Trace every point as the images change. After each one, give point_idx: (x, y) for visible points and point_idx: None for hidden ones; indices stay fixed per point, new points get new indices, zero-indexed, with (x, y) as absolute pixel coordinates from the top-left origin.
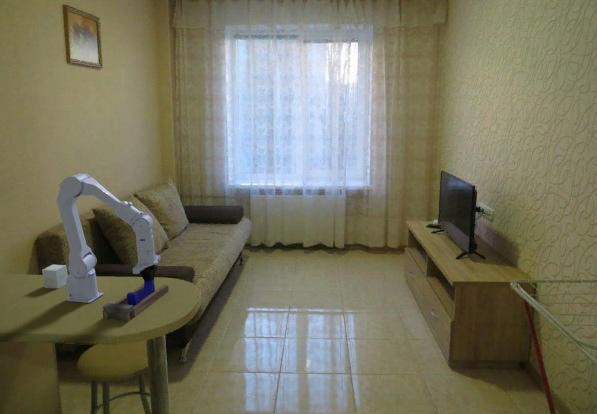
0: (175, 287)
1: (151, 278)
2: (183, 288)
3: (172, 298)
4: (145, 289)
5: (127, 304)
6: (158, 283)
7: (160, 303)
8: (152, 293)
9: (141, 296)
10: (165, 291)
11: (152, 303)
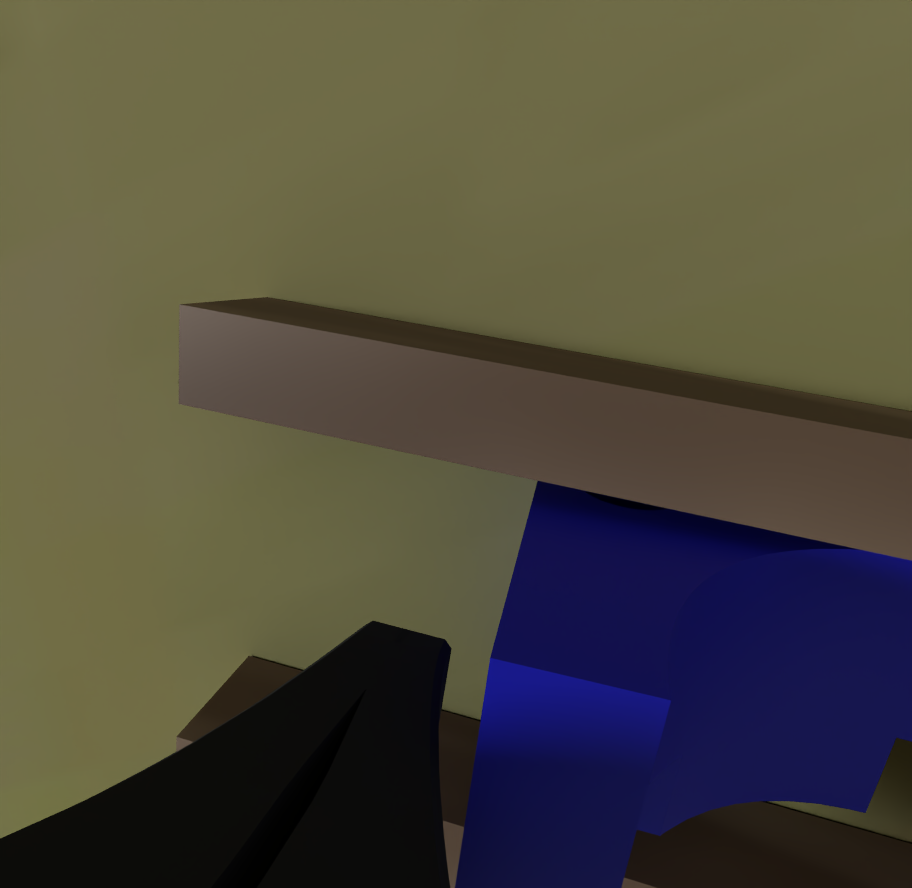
0: (85, 232)
1: (405, 815)
2: (92, 28)
3: (619, 39)
4: (667, 734)
5: (900, 846)
6: (15, 586)
7: (908, 223)
8: (740, 506)
9: (790, 712)
10: (352, 320)
11: (893, 408)
